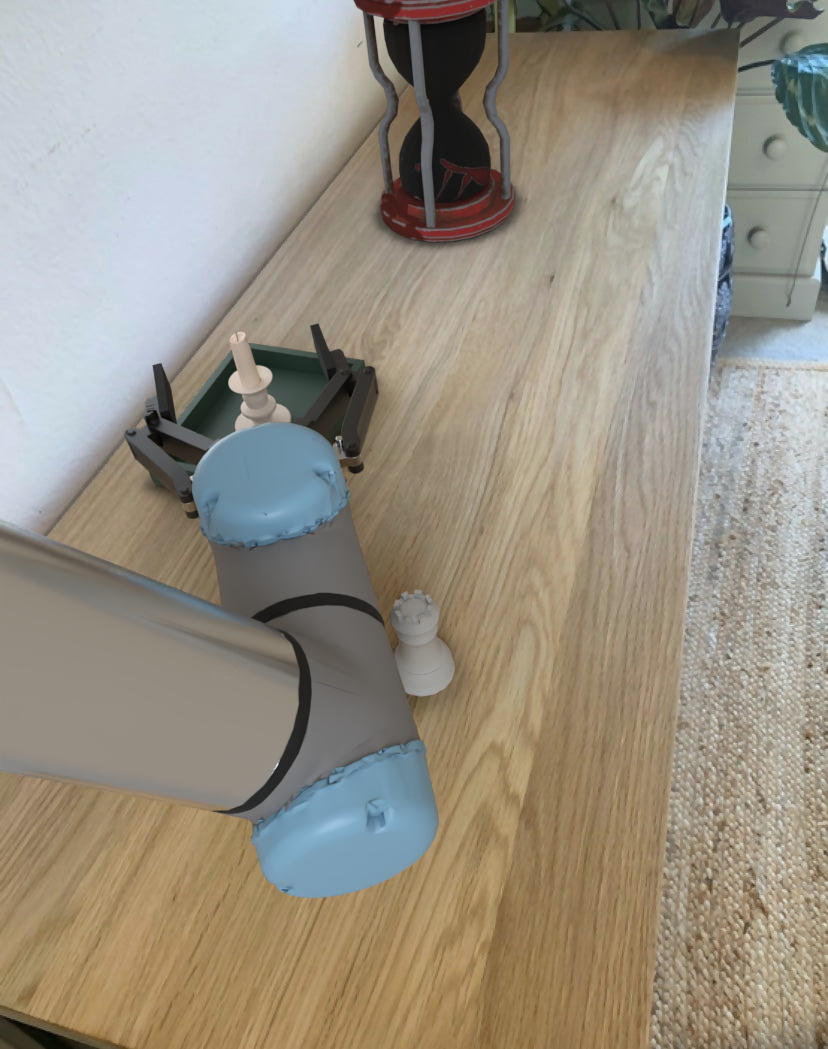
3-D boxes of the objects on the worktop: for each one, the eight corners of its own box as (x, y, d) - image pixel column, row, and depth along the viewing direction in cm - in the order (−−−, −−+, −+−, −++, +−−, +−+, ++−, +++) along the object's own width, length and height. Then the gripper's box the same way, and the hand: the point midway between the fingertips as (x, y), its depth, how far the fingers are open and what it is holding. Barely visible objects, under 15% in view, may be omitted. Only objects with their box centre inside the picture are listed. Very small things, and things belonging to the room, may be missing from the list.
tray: (291, 513, 72) (284, 490, 70) (154, 484, 76) (143, 462, 74) (368, 383, 82) (364, 359, 80) (244, 363, 86) (237, 340, 84)
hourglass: (402, 173, 110) (378, -53, 92) (526, 178, 106) (526, -57, 88) (364, 239, 100) (328, 1, 82) (499, 247, 96) (494, -1, 78)
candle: (237, 449, 77) (205, 355, 69) (234, 412, 80) (203, 319, 72) (294, 438, 77) (269, 343, 69) (289, 401, 80) (264, 307, 73)
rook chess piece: (409, 637, 62) (397, 569, 56) (465, 657, 61) (459, 589, 55) (381, 686, 60) (366, 621, 54) (439, 709, 58) (429, 643, 52)
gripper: (126, 613, 61) (111, 427, 75) (459, 517, 64) (384, 356, 78) (86, 545, 55) (77, 357, 69) (453, 444, 58) (374, 284, 72)
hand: (240, 356), depth 73 cm, fingers open, 13 cm apart
